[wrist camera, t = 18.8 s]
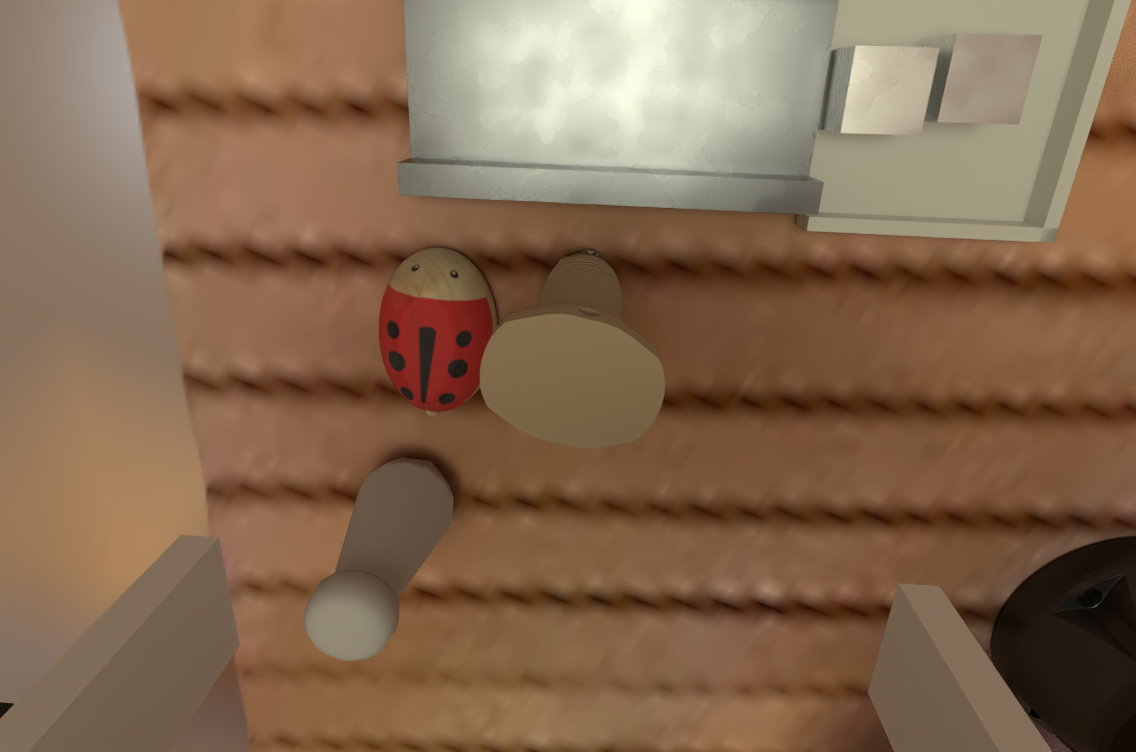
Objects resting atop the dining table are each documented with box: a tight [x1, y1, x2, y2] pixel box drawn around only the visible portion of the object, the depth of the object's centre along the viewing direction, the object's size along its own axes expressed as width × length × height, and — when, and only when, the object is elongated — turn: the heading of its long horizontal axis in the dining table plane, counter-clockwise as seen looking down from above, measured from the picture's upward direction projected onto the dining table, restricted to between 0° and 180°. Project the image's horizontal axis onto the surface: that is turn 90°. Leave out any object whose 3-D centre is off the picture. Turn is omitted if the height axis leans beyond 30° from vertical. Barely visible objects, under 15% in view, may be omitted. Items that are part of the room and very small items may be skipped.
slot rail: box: [397, 0, 839, 215], centre depth 31 cm, size 20×11×4 cm, turn 87°
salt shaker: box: [304, 457, 454, 661], centre depth 37 cm, size 6×6×13 cm
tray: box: [795, 0, 1131, 243], centre depth 32 cm, size 12×13×2 cm
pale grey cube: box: [919, 33, 1043, 125], centre depth 30 cm, size 4×4×4 cm
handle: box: [480, 249, 665, 449], centre depth 30 cm, size 5×6×15 cm
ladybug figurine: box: [379, 247, 498, 416], centre depth 37 cm, size 7×10×4 cm
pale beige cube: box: [818, 45, 940, 136], centre depth 31 cm, size 4×4×4 cm
